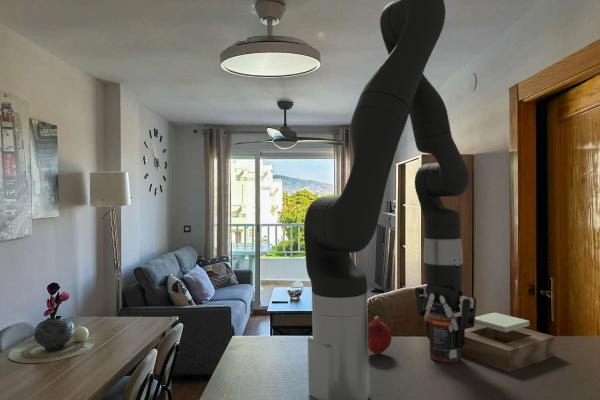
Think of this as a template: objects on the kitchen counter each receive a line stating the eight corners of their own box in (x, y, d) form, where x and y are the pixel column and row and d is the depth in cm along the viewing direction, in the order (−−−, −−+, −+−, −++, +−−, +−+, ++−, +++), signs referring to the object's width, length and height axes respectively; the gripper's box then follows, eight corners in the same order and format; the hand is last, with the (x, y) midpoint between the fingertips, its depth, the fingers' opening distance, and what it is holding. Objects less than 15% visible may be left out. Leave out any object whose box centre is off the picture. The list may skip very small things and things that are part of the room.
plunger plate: (505, 332, 82) (505, 327, 82) (471, 322, 89) (470, 317, 89) (529, 325, 86) (529, 320, 86) (494, 316, 93) (494, 312, 93)
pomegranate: (392, 360, 85) (391, 320, 85) (363, 359, 86) (362, 320, 86) (390, 350, 90) (390, 313, 90) (363, 349, 91) (363, 312, 91)
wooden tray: (509, 372, 78) (508, 350, 78) (448, 349, 90) (448, 331, 90) (555, 356, 85) (554, 336, 85) (493, 337, 97) (493, 320, 97)
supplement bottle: (463, 365, 82) (461, 306, 82) (431, 363, 83) (430, 305, 83) (458, 354, 87) (456, 299, 88) (428, 352, 89) (427, 298, 89)
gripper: (404, 258, 90) (405, 337, 90) (459, 266, 77) (461, 358, 77) (429, 255, 93) (431, 331, 93) (486, 263, 81) (488, 350, 81)
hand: (444, 343), depth 85 cm, fingers closed on supplement bottle, 6 cm apart
